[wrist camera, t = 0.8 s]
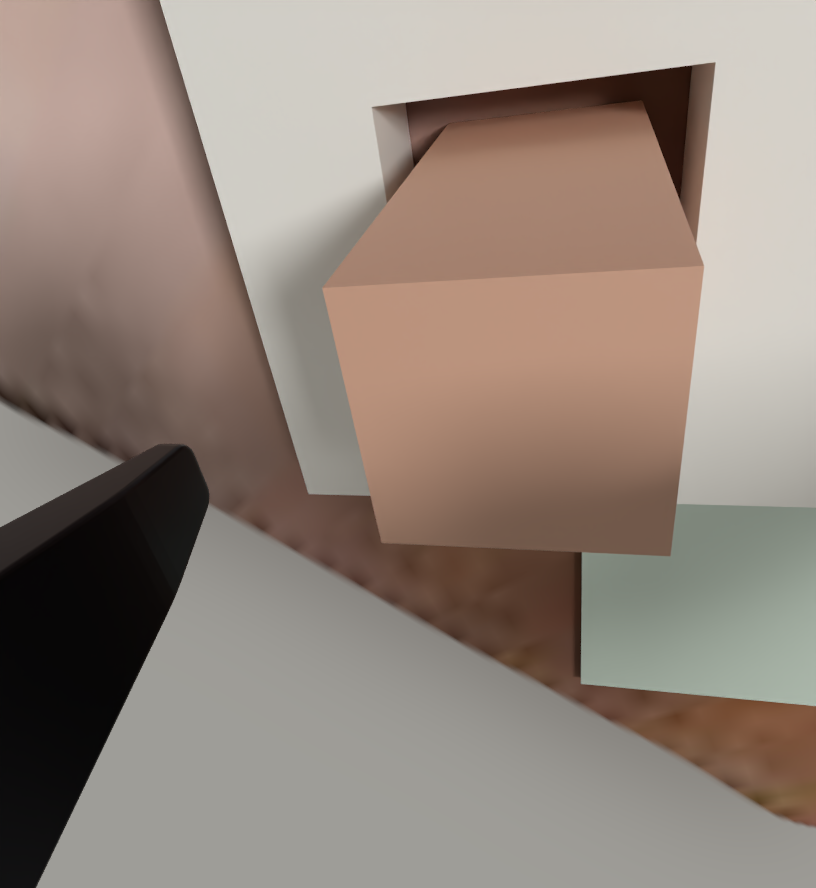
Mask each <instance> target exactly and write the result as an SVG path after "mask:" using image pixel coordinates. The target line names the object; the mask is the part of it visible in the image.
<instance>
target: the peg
mask: <svg viewBox="0 0 816 888" xmlns="http://www.w3.org/2000/svg"><path fill="white" fill-rule="evenodd" d="M703 273H704V264H703V261H702V258H701V256H700V253H699V250H698V248H697V245H696V242H695V240H694V237H693V234H692V232H691V229H690V226H689V224H688V221H687V218H686V216H685V213H684V210H683V208H682V205H681V202H680V200H679V197H678V194H677V192H676V189H675V187H674V184H673V181H672V179H671V176H670V173H669V171H668V168H667V165H666V163H665V160H664V157H663V155H662V152H661V149H660V147H659V144H658V141H657V139H656V136H655V133H654V131H653V128H652V125H651V123H650V120H649V117H648V115H647V112H646V109H645V107H644V104H643V101H642V100H640V101H632V102H623V103H615V104H606V105H598V106H590V107H581V108H573V109H565V110H556V111H548V112H540V113H531V114H523V115H515V116H506V117H498V118H490V119H481V120H473V121H465V122H456V123H448V125H447V126H446V127H445V129H444V130H443V131H442V133H441V134H440V135H439V136H438V138H437V139H436V140H435V142H434V143H433V144H432V146H431V147H430V148H429V150H428V151H427V152H426V153H425V155H424V156H423V157H422V159H421V160H420V161H419V163H418V164H417V165H416V166H415V168H414V169H413V170H412V172H411V173H410V174H409V176H408V177H407V178H406V179H405V181H404V182H403V183H402V185H401V186H400V187H399V189H398V190H397V191H396V192H395V194H394V195H393V196H392V198H391V199H390V200H389V202H388V203H387V204H386V206H385V207H384V208H383V209H382V211H381V212H380V213H379V215H378V216H377V217H376V219H375V220H374V221H373V222H372V224H371V225H370V226H369V228H368V229H367V230H366V232H365V233H364V234H363V235H362V237H361V238H360V239H359V241H358V242H357V243H356V245H355V246H354V247H353V248H352V250H351V251H350V252H349V254H348V255H347V256H346V258H345V259H344V260H343V262H342V263H341V264H340V265H339V267H338V268H337V269H336V271H335V272H334V273H333V275H332V276H331V277H330V278H329V280H328V281H327V282H326V284H325V285H324V286H323V288H322V289H323V294H324V298H325V302H326V306H327V311H328V315H329V319H330V324H331V328H332V332H333V337H334V341H335V345H336V349H337V354H338V358H339V362H340V367H341V371H342V375H343V379H344V384H345V388H346V392H347V397H348V401H349V405H350V410H351V414H352V418H353V422H354V427H355V431H356V435H357V440H358V444H359V448H360V452H361V457H362V461H363V465H364V470H365V474H366V478H367V483H368V487H369V491H370V495H371V500H372V504H373V508H374V513H375V517H376V521H377V526H378V530H379V534H380V538H381V543H392V544H413V545H435V546H456V547H478V548H500V549H521V550H543V551H564V552H586V553H608V554H629V555H651V556H671V548H672V540H673V531H674V522H675V514H676V505H677V496H678V488H679V479H680V471H681V462H682V453H683V445H684V436H685V428H686V419H687V410H688V402H689V393H690V385H691V376H692V367H693V359H694V350H695V341H696V333H697V324H698V316H699V307H700V298H701V290H702V281H703Z"/></svg>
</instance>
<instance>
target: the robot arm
mask: <svg viewBox="0 0 816 888" xmlns="http://www.w3.org/2000/svg"><path fill="white" fill-rule="evenodd" d="M208 504H209V490H208V487H207V484H206V482H205V479H204V477H203V475H202V472H201V470H200V467H199V465H198V462H197V460H196V458H195V455H194V453H193V451H192V450H191V449H190V448H189V447H188V446H187V445H184V444H160V445H157V446H154V447H153V448H151V449H149V450H147V451H145V452H143V453H141V454H139V455H137V456H135V457H133V458H132V459H130V460H128V461H126V462H124V463H122V464H120V465H118V466H116V467H115V468H113V469H111V470H109V471H107V472H105V473H103V474H101V475H99V476H98V477H95V478H94V479H92V480H90V481H88V482H86V483H84V484H82V485H80V486H78V487H76V488H74V489H72V490H71V491H69V492H67V493H65V494H63V495H61V496H59V497H57V498H55V499H53V500H52V501H50V502H48V503H46V504H44V505H42V506H40V507H38V508H36V509H34V510H32V511H30V512H29V513H27V514H25V515H23V516H21V517H19V518H17V519H15V520H13V521H12V522H10V523H8V524H6V525H4V526H2V527H0V888H36V886H37V884H38V882H39V880H40V878H41V876H42V874H43V872H44V870H45V868H46V866H47V864H48V862H49V859H50V857H51V855H52V853H53V851H54V849H55V847H56V845H57V843H58V841H59V839H60V836H61V834H62V832H63V830H64V828H65V826H66V824H67V822H68V820H69V818H70V816H71V814H72V812H73V809H74V807H75V805H76V803H77V801H78V799H79V797H80V795H81V793H82V791H83V788H84V787H85V784H86V782H87V780H88V778H89V776H90V774H91V772H92V770H93V768H94V766H95V763H96V762H97V759H98V757H99V755H100V753H101V751H102V749H103V747H104V745H105V743H106V741H107V739H108V736H109V734H110V732H111V730H112V728H113V726H114V724H115V722H116V720H117V718H118V716H119V714H120V711H121V709H122V707H123V705H124V703H125V701H126V699H127V697H128V695H129V692H130V691H131V689H132V686H133V684H134V682H135V680H136V678H137V676H138V674H139V672H140V670H141V668H142V666H143V663H144V661H145V659H146V657H147V655H148V653H149V651H150V649H151V647H152V645H153V643H154V640H155V639H156V636H157V634H158V632H159V630H160V628H161V626H162V624H163V622H164V620H165V617H166V615H167V613H168V611H169V609H170V607H171V605H172V603H173V600H174V598H175V595H176V593H177V591H178V588H179V585H180V583H181V580H182V578H183V575H184V572H185V569H186V566H187V564H188V560H189V558H190V555H191V552H192V549H193V547H194V544H195V541H196V538H197V535H198V533H199V530H200V527H201V524H202V521H203V519H204V516H205V513H206V510H207V508H208Z"/></svg>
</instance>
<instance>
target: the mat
mask: <svg viewBox="0 0 816 888" xmlns="http://www.w3.org/2000/svg"><path fill="white" fill-rule="evenodd" d="M581 684H589V685H599V686H610V687H621V688H631V689H642V690H652V691H663V692H673V693H684V694H695V695H705V696H716V697H726V698H737V699H747V700H758V701H768V702H779V703H790V704H800V705H811V706H816V508H810V507H772V506H735V505H697V504H677V505H676V514H675V522H674V531H673V540H672V548H671V556H651V555H629V554H608V553H586V552H582V606H581Z"/></svg>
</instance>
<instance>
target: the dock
mask: <svg viewBox="0 0 816 888" xmlns="http://www.w3.org/2000/svg"><path fill="white" fill-rule="evenodd" d="M160 4H161V7H162V10H163V13H164V17H165V20H166V23H167V27H168V30H169V33H170V37H171V40H172V43H173V47H174V50H175V53H176V57H177V60H178V63H179V66H180V70H181V73H182V76H183V80H184V83H185V86H186V90H187V93H188V96H189V100H190V103H191V106H192V110H193V113H194V116H195V119H196V123H197V126H198V129H199V133H200V136H201V139H202V143H203V146H204V149H205V153H206V156H207V159H208V163H209V166H210V169H211V173H212V176H213V179H214V182H215V186H216V189H217V192H218V196H219V199H220V202H221V206H222V209H223V212H224V216H225V219H226V222H227V226H228V229H229V232H230V235H231V239H232V242H233V245H234V249H235V252H236V255H237V259H238V262H239V265H240V269H241V272H242V275H243V279H244V282H245V285H246V288H247V292H248V295H249V298H250V302H251V305H252V308H253V312H254V315H255V318H256V322H257V325H258V328H259V332H260V335H261V338H262V342H263V345H264V348H265V351H266V355H267V358H268V361H269V365H270V368H271V371H272V375H273V378H274V381H275V385H276V388H277V391H278V395H279V398H280V401H281V404H282V408H283V411H284V414H285V418H286V421H287V424H288V428H289V431H290V434H291V438H292V441H293V444H294V448H295V451H296V454H297V457H298V461H299V464H300V467H301V471H302V474H303V477H304V481H305V484H306V487H307V491H308V494H323V495H361V496H371V495H370V491H369V487H368V483H367V478H366V474H365V470H364V465H363V461H362V457H361V452H360V448H359V444H358V440H357V435H356V431H355V427H354V422H353V418H352V414H351V410H350V405H349V401H348V397H347V392H346V388H345V384H344V379H343V375H342V371H341V367H340V362H339V358H338V354H337V349H336V345H335V341H334V337H333V332H332V328H331V324H330V319H329V315H328V311H327V306H326V302H325V298H324V294H323V289H322V288H323V286H324V285H325V284H326V282H327V281H328V280H329V278H330V277H331V276H332V275H333V273H334V272H335V271H336V269H337V268H338V267H339V265H340V264H341V263H342V262H343V260H344V259H345V258H346V256H347V255H348V254H349V252H350V251H351V250H352V248H353V247H354V246H355V245H356V243H357V242H358V241H359V239H360V238H361V237H362V235H363V234H364V233H365V232H366V230H367V229H368V228H369V226H370V225H371V224H372V222H373V221H374V220H375V219H376V217H377V216H378V215H379V213H380V212H381V211H382V209H383V208H384V207H385V206H386V204H387V203H388V202H389V200H390V199H391V198H392V196H393V195H394V194H395V192H396V191H397V190H398V189H399V187H400V186H401V185H402V183H403V182H404V181H405V179H406V178H407V177H408V176H409V174H410V173H411V172H412V170H413V169H414V163H413V156H412V148H411V141H410V133H409V126H408V118H407V111H406V102H414V101H421V100H429V99H437V98H444V97H452V96H460V95H467V94H475V93H483V92H490V91H498V90H506V89H513V88H521V87H529V86H536V85H544V84H552V83H559V82H567V81H575V80H582V79H590V78H598V77H605V76H613V75H621V74H628V73H636V72H644V71H651V70H659V69H667V68H674V67H682V66H690V65H692V71H691V82H690V93H689V104H688V116H687V127H686V138H685V149H684V161H683V172H682V183H681V195H680V202H681V205H682V208H683V210H684V213H685V216H686V218H687V221H688V224H689V226H690V229H691V232H692V234H693V237H694V240H695V242H696V245H697V248H698V250H699V253H700V256H701V258H702V261H703V264H704V273H703V281H702V290H701V298H700V307H699V316H698V324H697V333H696V341H695V350H694V359H693V367H692V376H691V385H690V393H689V402H688V410H687V419H686V428H685V436H684V445H683V453H682V462H681V471H680V479H679V488H678V496H677V504H697V505H735V506H772V507H810V508H816V0H160Z"/></svg>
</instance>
